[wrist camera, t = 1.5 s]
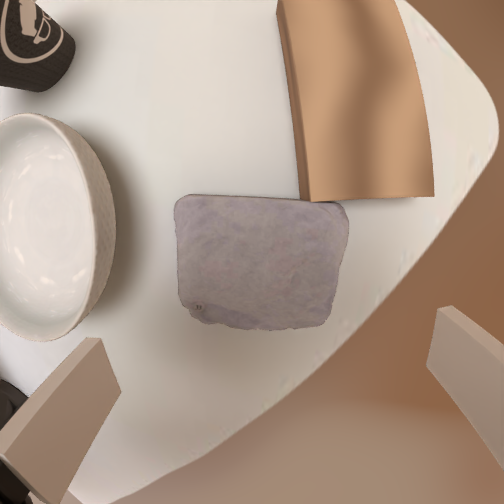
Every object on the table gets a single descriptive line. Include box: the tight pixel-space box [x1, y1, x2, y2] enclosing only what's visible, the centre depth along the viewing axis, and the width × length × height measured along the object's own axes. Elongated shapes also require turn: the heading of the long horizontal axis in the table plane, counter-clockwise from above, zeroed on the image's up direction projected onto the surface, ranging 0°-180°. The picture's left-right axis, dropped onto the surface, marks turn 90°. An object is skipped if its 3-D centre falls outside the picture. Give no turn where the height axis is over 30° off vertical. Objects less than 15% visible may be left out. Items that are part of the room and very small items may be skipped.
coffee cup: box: [0, 0, 75, 92], centre depth 10 cm, size 10×10×15 cm
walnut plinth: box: [276, 0, 434, 202], centre depth 16 cm, size 9×16×4 cm, turn 6°
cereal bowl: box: [0, 113, 116, 342], centre depth 17 cm, size 17×17×7 cm
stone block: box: [174, 194, 349, 331], centre depth 20 cm, size 12×5×10 cm
